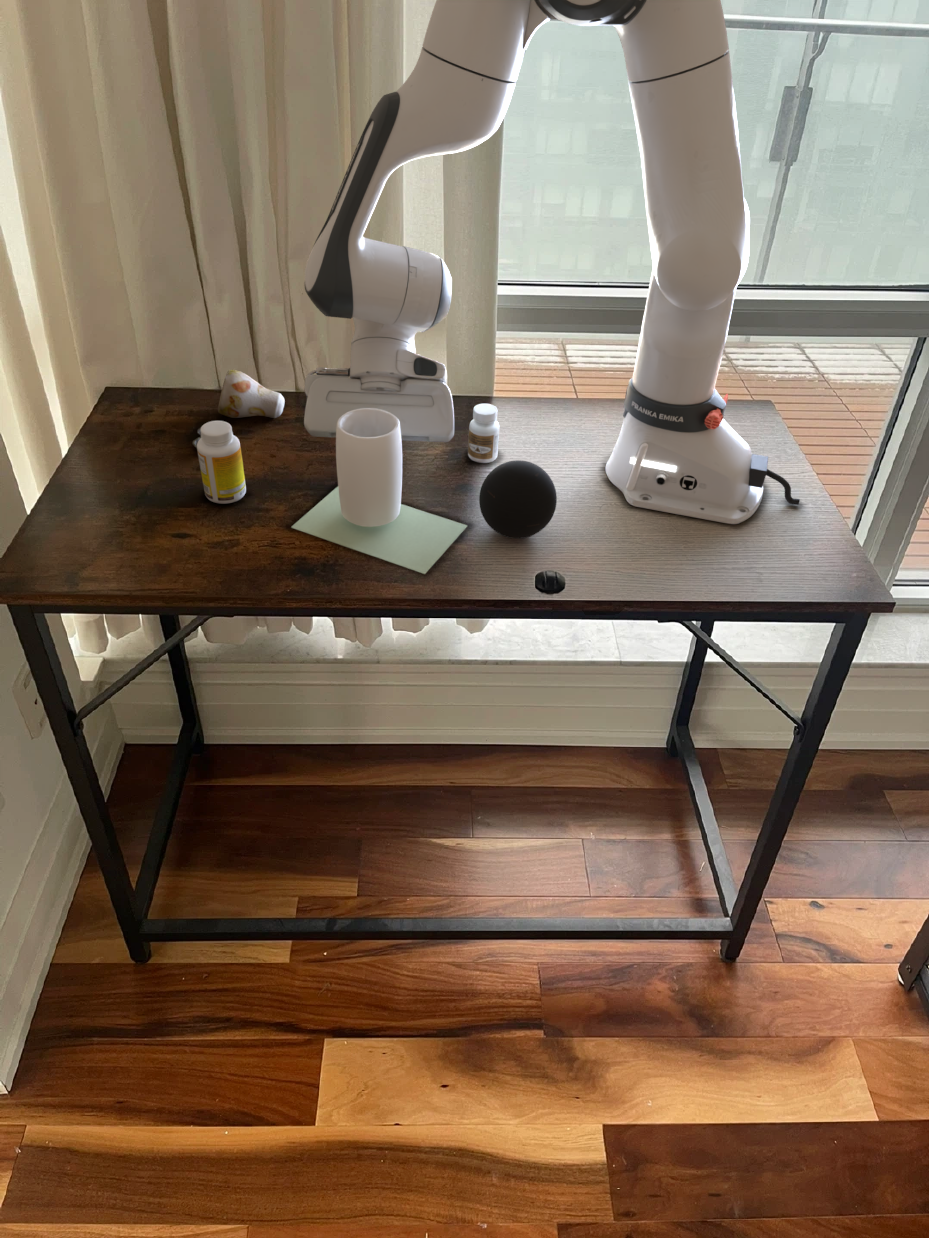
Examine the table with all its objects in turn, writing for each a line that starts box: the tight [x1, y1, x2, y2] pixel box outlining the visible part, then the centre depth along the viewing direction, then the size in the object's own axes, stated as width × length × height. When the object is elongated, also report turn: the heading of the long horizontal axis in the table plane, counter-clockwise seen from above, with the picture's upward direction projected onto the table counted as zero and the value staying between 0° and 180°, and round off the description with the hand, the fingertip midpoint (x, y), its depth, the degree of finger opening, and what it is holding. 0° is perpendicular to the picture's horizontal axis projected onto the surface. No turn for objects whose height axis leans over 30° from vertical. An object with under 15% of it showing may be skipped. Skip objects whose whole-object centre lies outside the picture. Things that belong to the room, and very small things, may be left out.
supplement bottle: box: [196, 420, 247, 505], centre depth 124 cm, size 6×6×10 cm
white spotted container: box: [217, 369, 286, 419], centre depth 142 cm, size 8×10×10 cm
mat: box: [290, 486, 468, 575], centre depth 123 cm, size 20×12×1 cm, turn 63°
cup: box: [335, 408, 403, 527], centre depth 120 cm, size 8×8×14 cm
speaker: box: [478, 459, 558, 539], centre depth 121 cm, size 10×10×10 cm
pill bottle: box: [467, 403, 500, 464], centre depth 136 cm, size 4×4×8 cm
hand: (378, 470), depth 126 cm, fingers closed, pressing on cup
